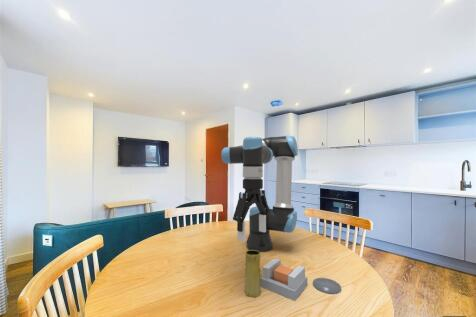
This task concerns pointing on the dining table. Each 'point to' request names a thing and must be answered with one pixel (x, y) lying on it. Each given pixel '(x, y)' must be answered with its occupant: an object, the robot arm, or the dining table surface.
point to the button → (282, 274)
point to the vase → (252, 273)
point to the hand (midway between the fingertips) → (252, 235)
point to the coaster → (326, 285)
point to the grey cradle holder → (292, 290)
